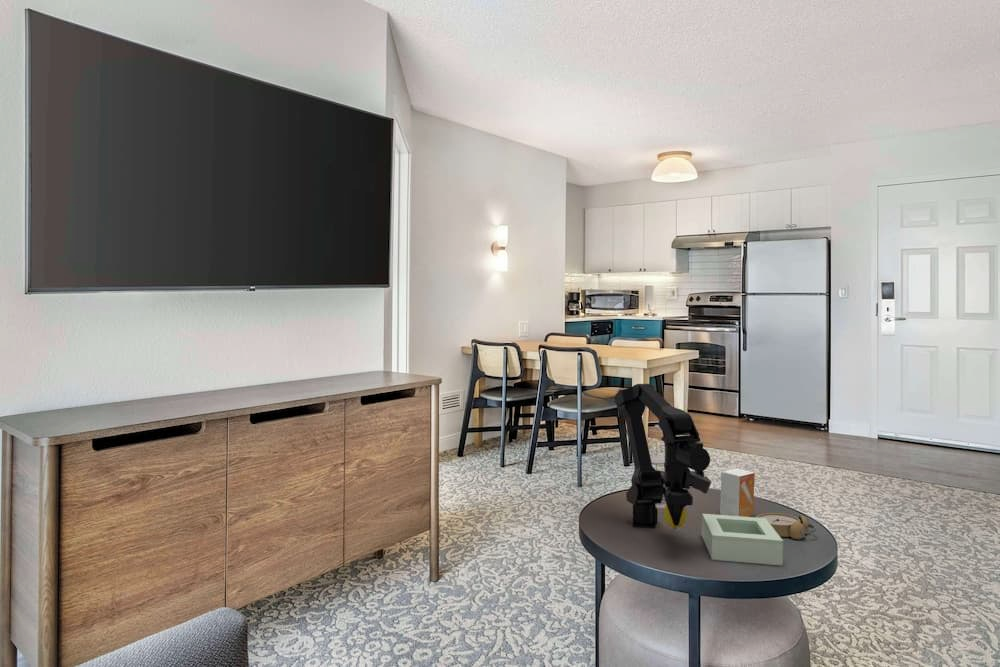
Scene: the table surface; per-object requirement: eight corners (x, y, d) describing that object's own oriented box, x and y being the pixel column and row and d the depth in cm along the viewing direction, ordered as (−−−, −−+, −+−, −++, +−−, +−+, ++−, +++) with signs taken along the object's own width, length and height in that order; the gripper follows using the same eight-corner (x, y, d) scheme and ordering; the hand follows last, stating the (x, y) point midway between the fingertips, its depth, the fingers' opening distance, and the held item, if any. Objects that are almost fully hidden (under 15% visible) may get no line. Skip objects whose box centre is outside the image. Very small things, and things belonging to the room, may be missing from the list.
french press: (676, 508, 180) (677, 427, 180) (638, 508, 180) (640, 427, 179) (666, 498, 190) (667, 422, 189) (631, 498, 190) (632, 421, 189)
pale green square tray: (711, 559, 142) (712, 535, 142) (701, 535, 158) (702, 513, 157) (782, 565, 139) (783, 540, 139) (764, 540, 155) (765, 518, 154)
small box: (738, 520, 170) (739, 476, 170) (719, 514, 175) (720, 471, 175) (754, 515, 175) (755, 472, 174) (734, 509, 180) (735, 467, 179)
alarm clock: (761, 511, 170) (817, 513, 161) (763, 528, 170) (821, 531, 160) (749, 521, 161) (809, 524, 152) (752, 539, 161) (812, 543, 152)
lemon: (687, 534, 148) (687, 502, 148) (664, 532, 149) (665, 501, 149) (684, 526, 153) (685, 496, 153) (662, 524, 154) (663, 494, 154)
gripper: (715, 472, 140) (713, 537, 140) (703, 455, 158) (701, 512, 159) (667, 470, 142) (666, 533, 142) (660, 452, 160) (659, 509, 161)
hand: (674, 521), depth 151 cm, fingers closed on lemon, 5 cm apart
